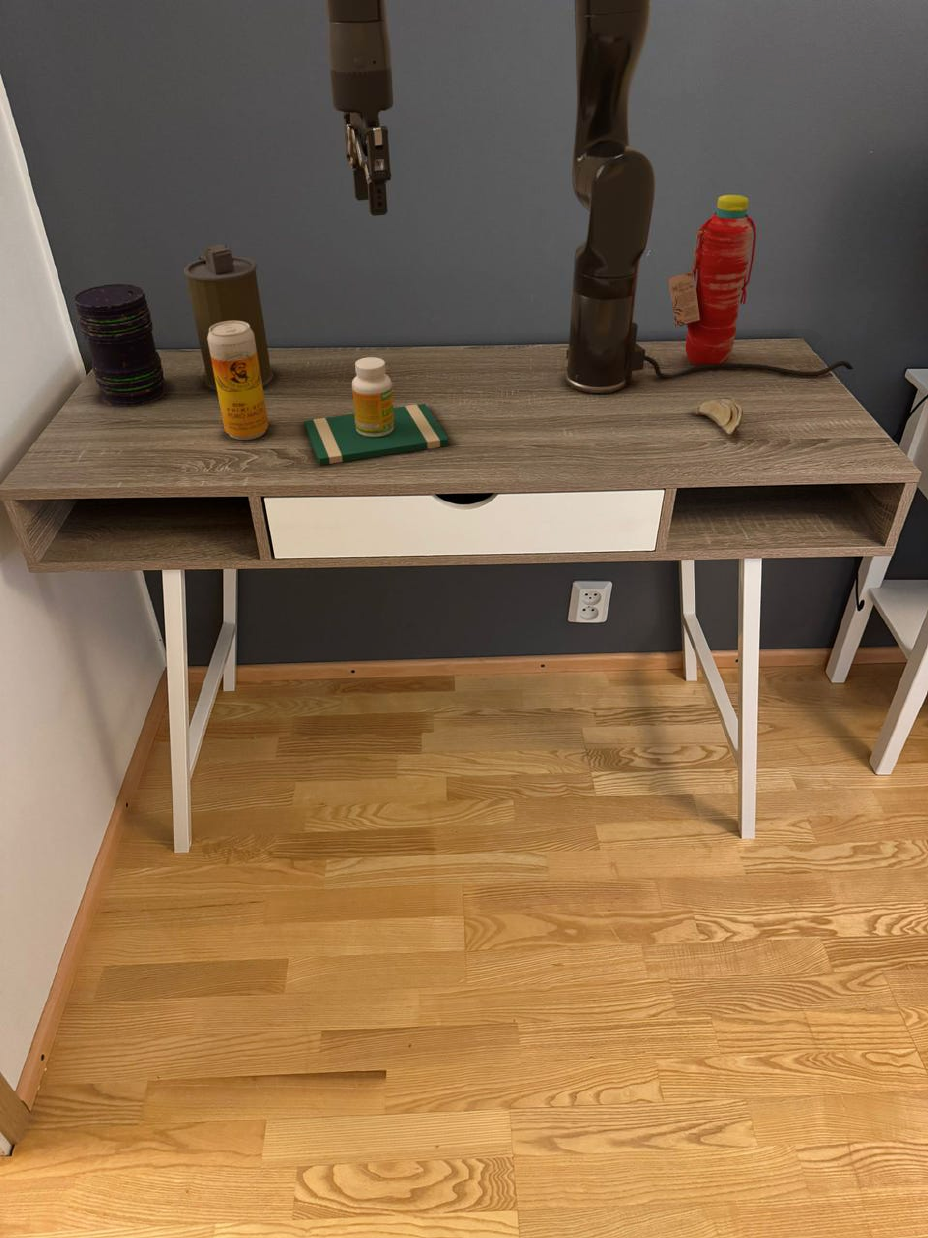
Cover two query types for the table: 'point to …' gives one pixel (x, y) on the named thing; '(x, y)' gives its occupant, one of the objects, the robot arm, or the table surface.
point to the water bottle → (715, 282)
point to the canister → (226, 302)
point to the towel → (344, 443)
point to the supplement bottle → (372, 398)
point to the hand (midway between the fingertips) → (370, 206)
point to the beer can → (238, 379)
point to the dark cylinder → (121, 344)
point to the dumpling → (722, 413)
